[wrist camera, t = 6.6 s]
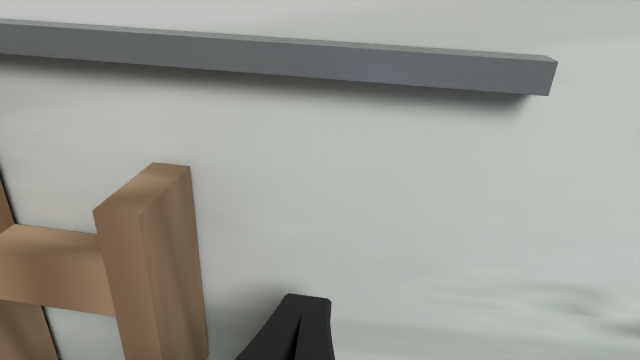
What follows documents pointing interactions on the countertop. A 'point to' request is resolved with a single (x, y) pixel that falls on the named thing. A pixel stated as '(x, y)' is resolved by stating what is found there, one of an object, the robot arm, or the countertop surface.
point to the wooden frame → (110, 272)
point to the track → (283, 56)
